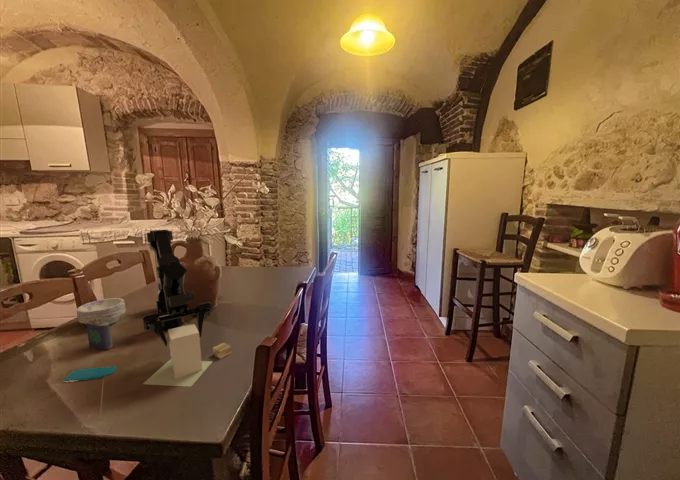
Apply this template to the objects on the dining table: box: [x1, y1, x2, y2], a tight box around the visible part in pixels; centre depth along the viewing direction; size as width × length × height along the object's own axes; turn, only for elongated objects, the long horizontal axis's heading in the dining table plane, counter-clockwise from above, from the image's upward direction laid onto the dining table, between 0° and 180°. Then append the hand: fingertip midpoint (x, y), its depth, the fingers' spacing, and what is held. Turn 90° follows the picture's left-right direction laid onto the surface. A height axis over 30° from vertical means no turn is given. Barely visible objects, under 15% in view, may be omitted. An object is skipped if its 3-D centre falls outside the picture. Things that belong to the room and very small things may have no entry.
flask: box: [85, 318, 114, 351], centre depth 102 cm, size 9×3×11 cm, turn 74°
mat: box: [142, 359, 213, 388], centre depth 89 cm, size 14×12×1 cm
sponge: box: [62, 365, 118, 382], centre depth 88 cm, size 2×12×6 cm
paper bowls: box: [75, 297, 126, 325], centre depth 122 cm, size 15×15×8 cm
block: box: [212, 342, 232, 360], centre depth 98 cm, size 4×4×3 cm
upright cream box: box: [167, 323, 203, 379], centre depth 90 cm, size 7×7×12 cm
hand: (183, 341), depth 90 cm, fingers open, 9 cm apart
